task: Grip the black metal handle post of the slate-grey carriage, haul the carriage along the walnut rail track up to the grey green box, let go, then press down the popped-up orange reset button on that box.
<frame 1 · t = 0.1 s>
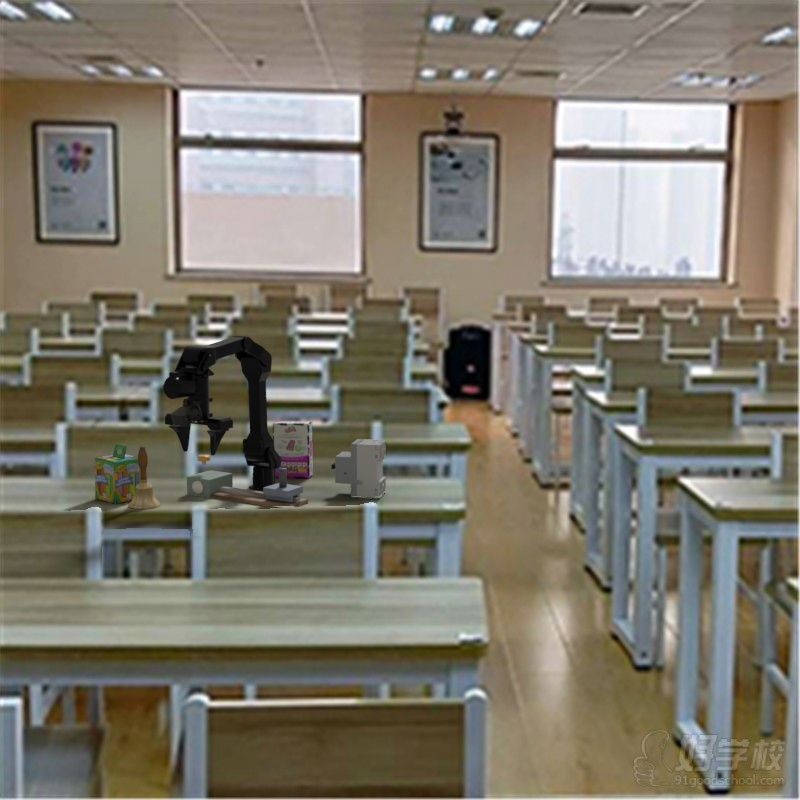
hand: (199, 453, 306), 15 cm above the table, fingers open, 9 cm apart
chalk box: (119, 499, 318), on the table
circuit breaker: (357, 495, 325), on the table
hand bell: (144, 506, 310), on the table
rail track: (259, 500, 318), on the table
candy bar box: (293, 476, 348), on the table
carriage: (282, 483, 313), point 5 cm above the table, slide at 0.0 cm
reset button: (203, 460, 326), point 9 cm above the table, slide at 2.5 cm
grey green box: (210, 492, 326), on the table
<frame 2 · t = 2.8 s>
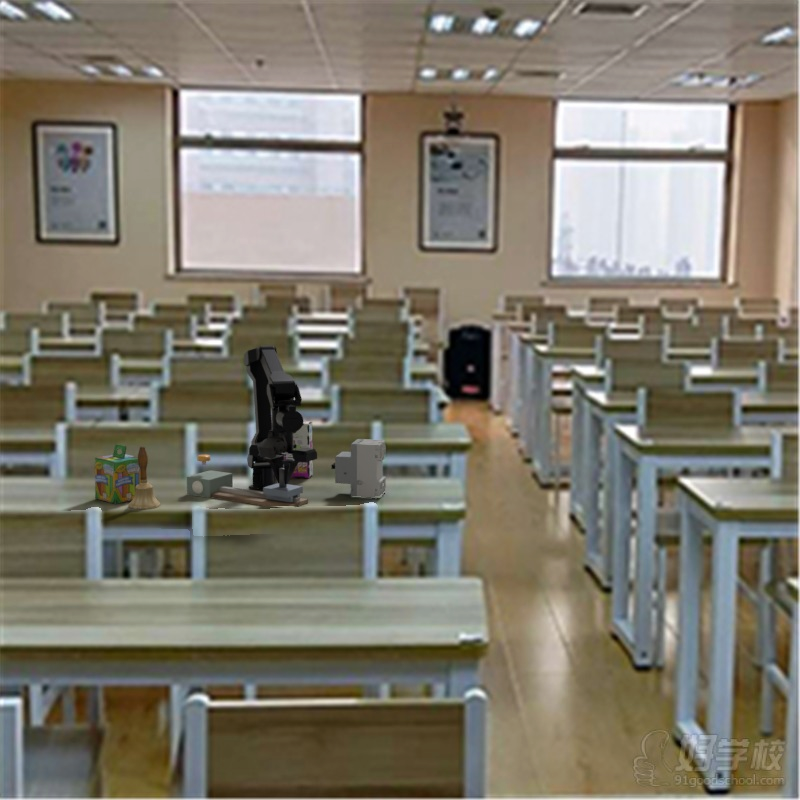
hand: (282, 483, 313), 6 cm above the table, fingers closed on carriage, 2 cm apart
carriage: (282, 483, 313), point 5 cm above the table, slide at 0.0 cm, touching gripper
everything else where it was.
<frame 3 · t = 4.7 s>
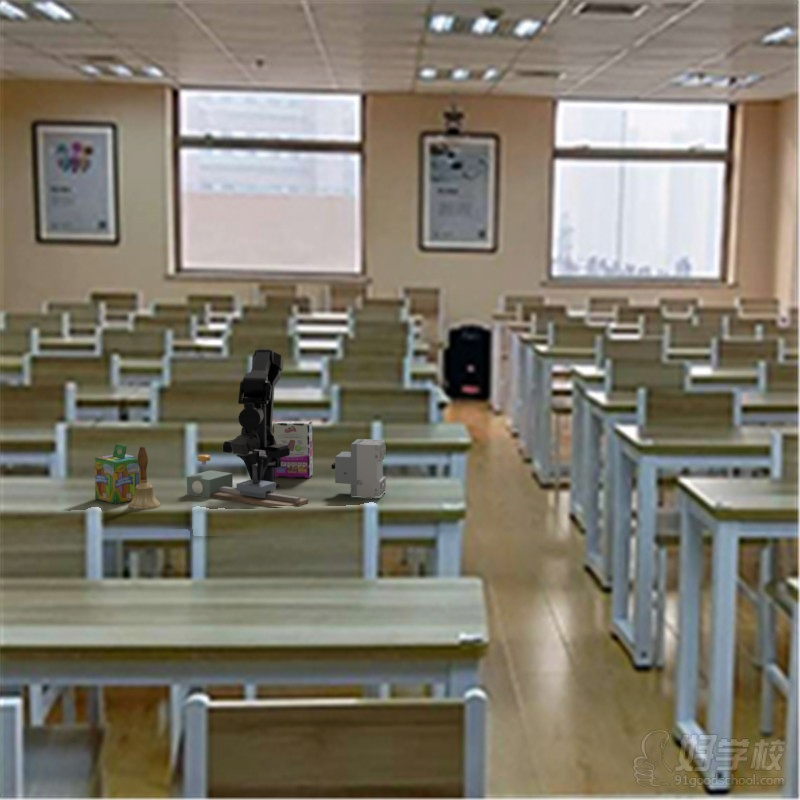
hand: (256, 479, 317), 5 cm above the table, fingers closed on carriage, 2 cm apart
carriage: (256, 480, 317), point 5 cm above the table, slide at 8.9 cm, touching gripper
everything else where it was.
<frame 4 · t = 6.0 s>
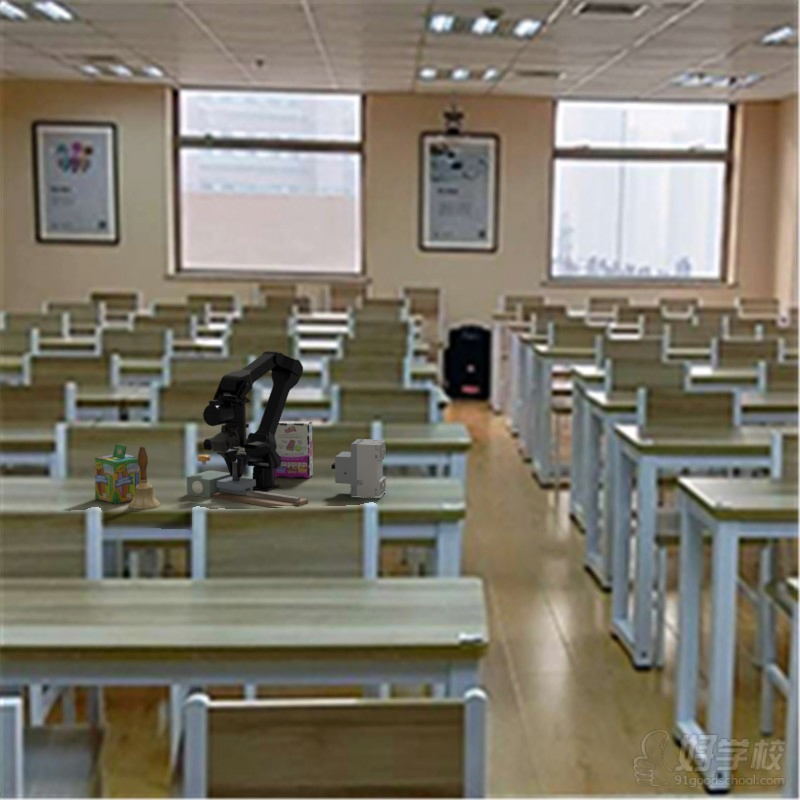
hand: (236, 477, 321), 5 cm above the table, fingers closed on carriage, 2 cm apart
carriage: (236, 477, 321), point 5 cm above the table, slide at 15.8 cm, touching gripper
everything else where it was.
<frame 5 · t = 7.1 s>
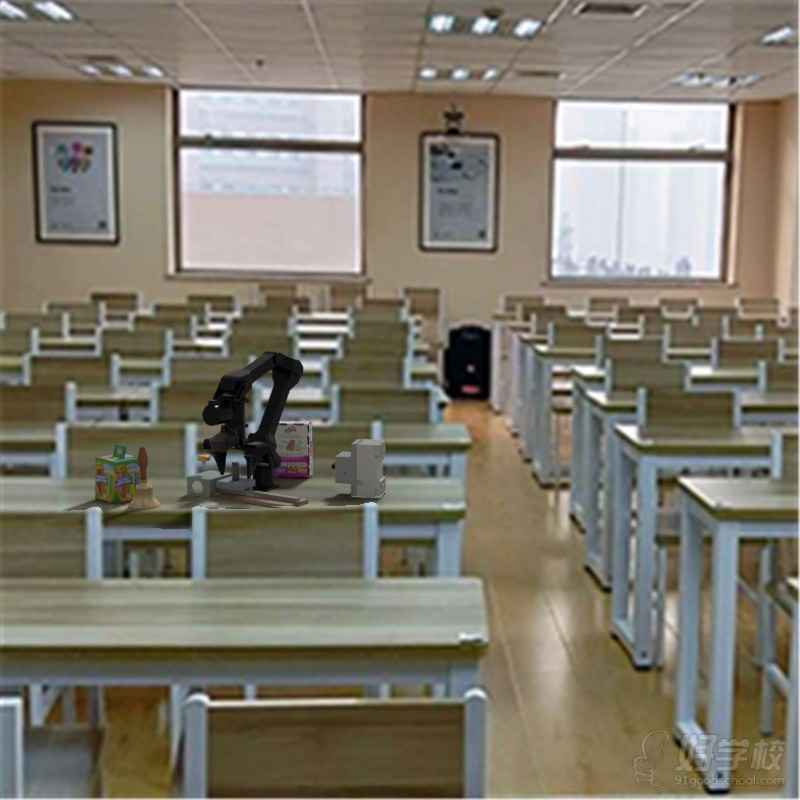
hand: (235, 476, 321), 5 cm above the table, fingers open, 9 cm apart
carriage: (235, 477, 321), point 5 cm above the table, slide at 15.9 cm
everything else where it was.
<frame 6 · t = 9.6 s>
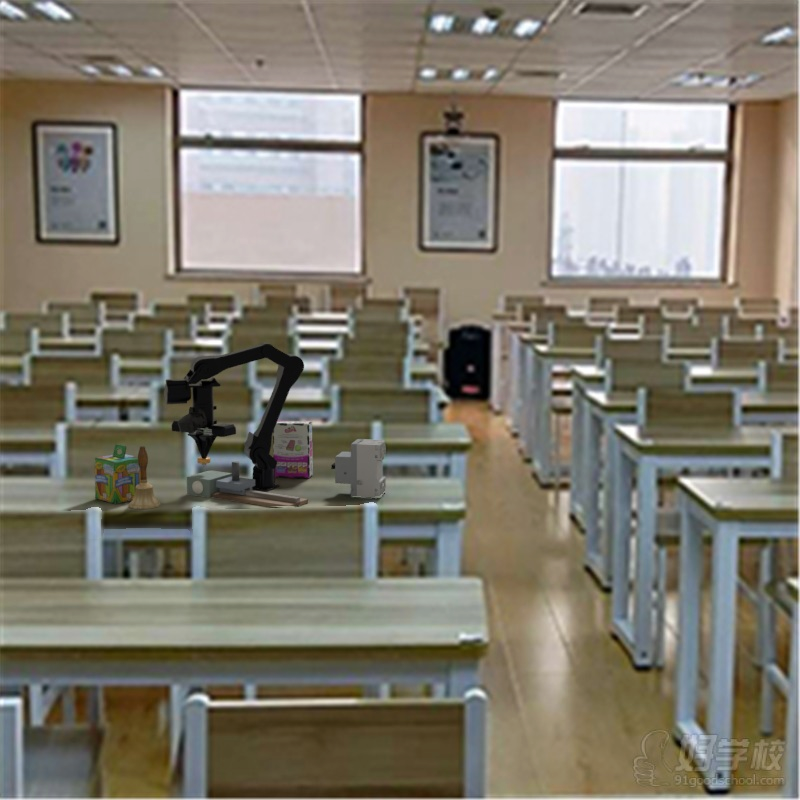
hand: (204, 458, 326), 10 cm above the table, fingers closed, pressing on reset button
reset button: (203, 462, 326), point 8 cm above the table, slide at 1.8 cm, touching gripper
everything else where it was.
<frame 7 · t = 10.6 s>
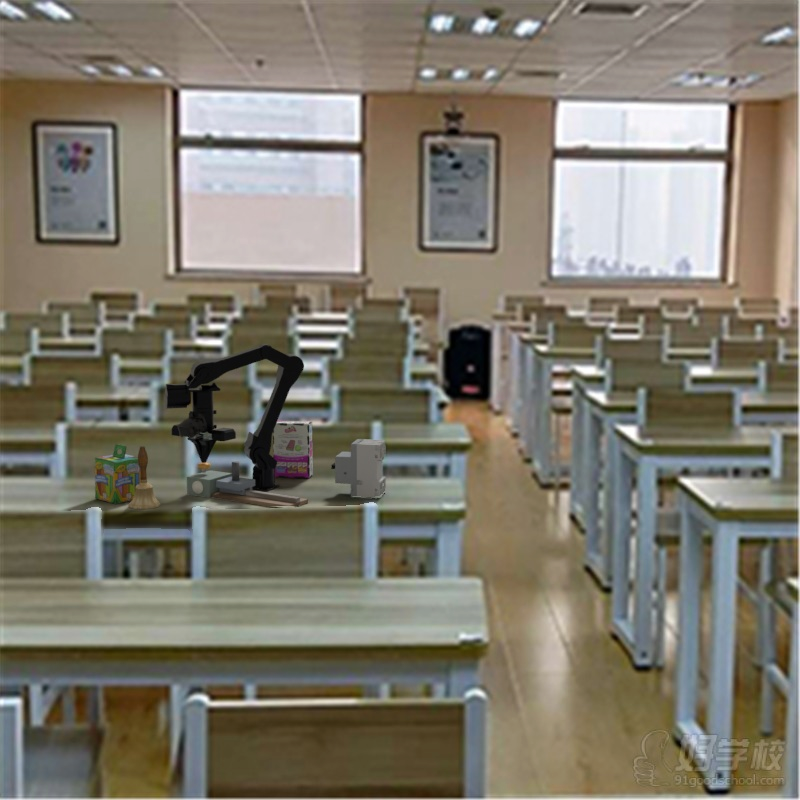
hand: (203, 462, 326), 8 cm above the table, fingers closed
reset button: (204, 467, 326), point 7 cm above the table, slide at 0.3 cm
everything else where it was.
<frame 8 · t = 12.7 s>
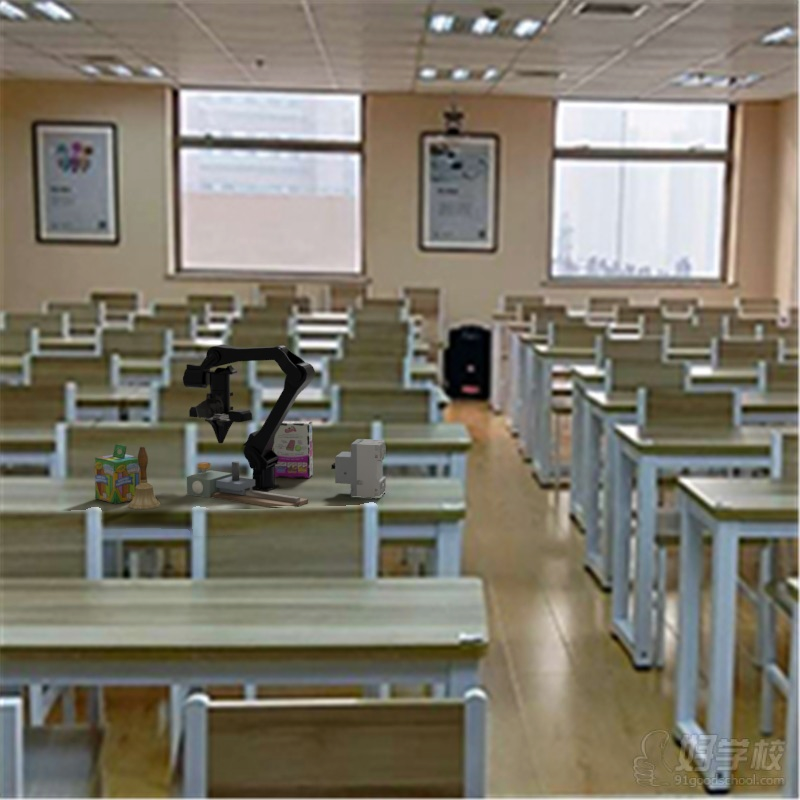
hand: (220, 443, 335), 12 cm above the table, fingers closed
nothing on the table moved.
at the end: carriage slide at 15.9 cm; reset button slide at 0.3 cm; the gripper is holding nothing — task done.
